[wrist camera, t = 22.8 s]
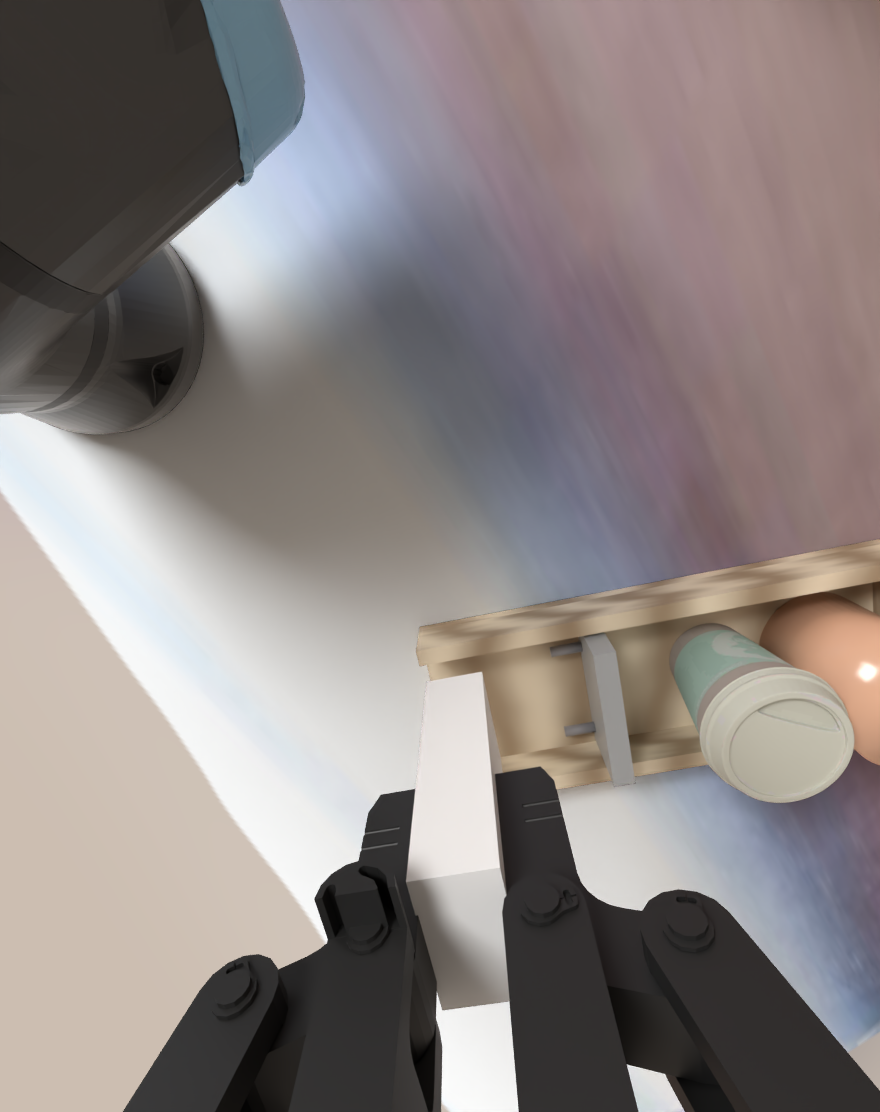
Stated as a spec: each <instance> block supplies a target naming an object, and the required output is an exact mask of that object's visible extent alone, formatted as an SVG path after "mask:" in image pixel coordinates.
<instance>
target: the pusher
mask: <svg viewBox="0 0 880 1112" xmlns="http://www.w3.org/2000/svg"><path fill="white" fill-rule="evenodd" d="M578 638H579V641H578V642H573V643H568V644H562V645H557V646H551V647H549V648H550V653H551V657H556V656H562V655H567V654H573V653H578V652H581V656H582V662H583V668H584V674H585V680H586V686H587V693H588V699H589V705H590V711H591V717H592V722H587V723H581V724H575V725H570V726H564V731H565V735H566V737H568V736H574V735H580V734H586V733H592V732H594V735H595V740H596V742H597V745H598V747H599V750H600V752H601V755H602V757H603V760H604V762H605V765H606V767H607V770H608V772H609V775H610V778H611V780H612V783H613V785H614V787H616V786H622V785H629V784H635V777H634V771H633V764H632V757H631V750H630V744H629V737H628V730H627V723H626V717H625V710H624V703H623V696H622V689H621V683H620V676H619V669H618V662H617V656H616V651H615V649H614V648H613V646H612V644H611V643H610V641H609V639H608V638H607V636H606V634H605V633H604V632H602V633H597V634H592V635H586V636H581V637H578Z"/></svg>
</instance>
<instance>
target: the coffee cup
mask: <svg viewBox="0 0 880 1112" xmlns="http://www.w3.org/2000/svg"><path fill="white" fill-rule="evenodd" d="M669 665H670V669H671V672H672V675H673V677H674V679H675V681H676V684H677V686H678V688H679V691H680V693H681V695H682V697H683V700H684V702H685V704H686V706H687V709H688V711H689V713H690V715H691V718H692V720H693V722H694V724H695V727H696V729H697V731H698V733H699V736H700V746H701V750H702V753H703V756H704V758H705V760H706V762H707V763H708V765H709V766H710V767H711V769H712V770H713V771H714V772H715V773H716V774H717V775H718V776H719V777H720V778H721V779H722V780H724V781H725V782H726V783H728V784H729V785H730V786H732V787H734V788H736V789H738V790H740V791H741V792H743V793H744V794H746V795H748V796H750V797H752V798H755V799H757V800H761V801H765V802H772V803H787V802H794V801H799V800H803V799H806V798H809V797H811V796H813V795H816V794H818V793H819V792H821V791H823V790H824V789H826V788H827V787H829V786H830V785H831V784H832V783H834V782H835V781H836V780H837V779H838V778H839V777H840V775H841V774H842V773H843V772H844V770H845V769H846V767H847V765H848V763H849V761H850V759H851V756H852V754H853V749H854V731H853V727H852V724H851V722H850V720H849V717H848V713H847V710H846V708H845V705H844V704H843V702H842V700H841V699H840V698H839V696H838V695H837V693H836V692H835V691H834V689H833V688H832V687H831V686H830V685H829V684H828V683H827V682H826V681H824V680H823V679H822V678H820V677H818V676H817V675H815V674H813V673H810V672H808V671H805V670H801V669H797V668H795V667H793V666H792V665H790V664H788V663H787V662H785V661H784V660H782V659H780V658H779V657H777V656H776V655H774V654H772V653H771V652H769V651H767V650H766V649H764V648H763V647H761V646H759V645H758V644H756V643H755V642H753V641H751V640H750V639H748V638H747V637H745V636H743V635H742V634H740V633H738V632H737V631H735V630H733V629H732V628H730V627H728V626H725V625H722V624H717V623H706V624H701V625H697V626H695V627H692V628H690V629H689V630H687V631H686V632H684V633H683V634H682V635H681V636H680V637H679V638H678V639H677V640H676V642H675V643H674V645H673V647H672V649H671V652H670V657H669Z"/></svg>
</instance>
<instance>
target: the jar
mask: <svg viewBox="0 0 880 1112" xmlns="http://www.w3.org/2000/svg"><path fill="white" fill-rule="evenodd" d="M759 646H761V647H763V648H764V649H766V650H767V651H769V652H771V653H772V654H774V655H776V656H777V657H779V658H780V659H782V660H784V661H785V662H787V663H788V664H790V665H792V666H793V667H795V668H797V669H801V670H805V671H808V672H810V673H813V674H815V675H817V676H818V677H820V678H822V679H823V680H824V681H826V682H827V683H828V684H829V685H830V686H831V687H832V688H833V689H834V691H835V692H836V693H837V695H838V696H839V698H840V699H841V700H842V702H843V704H844V705H845V708H846V710H847V713H848V717H849V720H850V722H851V724H852V727H853V731H854V750H856V751H857V752H858V753H859V754H860V755H861V756H863V757H864V758H865V759H867V760H869V761H871V762H872V763H875V764H877V765H880V615H878V614H876V613H874V612H872V611H870V610H868V609H866V608H864V607H862V606H860V605H858V604H856V603H854V602H852V601H850V600H848V599H846V598H845V597H842V596H840V595H837V594H834V593H829V592H818V593H813V594H807V595H802V596H798V597H796V598H794V599H792V600H790V601H788V602H787V603H785V604H784V605H782V606H781V607H780V608H779V609H777V610H776V611H775V613H774V614H773V615H772V616H771V617H770V618H769V620H768V621H767V623H766V625H765V626H764V629H763V631H762V633H761V637H760V641H759Z"/></svg>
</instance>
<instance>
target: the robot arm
mask: <svg viewBox="0 0 880 1112" xmlns="http://www.w3.org/2000/svg"><path fill="white" fill-rule="evenodd" d="M304 83H305V81H304V74H303V69H302V65H301V61H300V57H299V53H298V50H297V46H296V43H295V40H294V37H293V34H292V32H291V29H290V26H289V23H288V20H287V18H286V15H285V12H284V9H283V7H282V4H281V2H280V0H0V414H10V413H21V414H24V415H26V416H29V417H31V418H34V419H37V420H39V421H42V422H45V423H47V424H49V425H52V426H54V427H57V428H60V429H63V430H67V431H72V432H77V433H84V434H110V433H118V432H126V431H131V430H136V429H139V428H142V427H145V426H147V425H150V424H152V423H154V422H156V421H157V420H159V419H161V418H162V417H164V416H165V415H166V414H168V413H169V412H170V411H171V410H172V409H173V408H174V407H175V406H176V405H177V404H178V403H179V402H180V401H181V400H182V399H183V397H184V396H185V394H186V393H187V391H188V390H189V388H190V386H191V384H192V382H193V380H194V378H195V376H196V373H197V371H198V367H199V364H200V360H201V355H202V349H203V319H202V312H201V307H200V303H199V299H198V295H197V292H196V289H195V287H194V284H193V282H192V279H191V277H190V275H189V273H188V271H187V269H186V267H185V266H184V264H183V262H182V261H181V259H180V258H179V256H178V255H177V253H176V252H175V251H174V249H173V248H172V247H171V246H170V244H169V242H170V241H171V240H173V239H174V238H175V237H176V236H177V235H178V234H179V233H181V232H182V231H183V230H184V229H185V228H186V227H188V226H189V225H190V224H191V223H192V222H193V221H194V220H196V219H197V218H198V217H199V216H200V215H201V214H202V213H204V212H205V211H206V210H207V209H208V208H209V207H210V206H212V205H213V204H214V203H215V202H216V201H217V200H219V199H220V198H221V197H222V196H223V195H224V194H225V193H227V192H228V191H229V190H230V189H231V188H232V187H233V186H235V185H236V184H238V185H239V186H244V185H246V184H247V183H248V182H249V181H250V179H251V178H252V175H253V172H254V168H255V167H257V166H258V165H259V164H260V163H261V162H262V161H263V160H264V159H265V158H266V157H267V156H268V155H269V154H270V153H271V152H272V151H273V150H274V149H275V148H276V147H277V146H278V145H279V144H280V143H281V142H283V141H284V140H285V139H286V138H287V137H288V136H289V135H290V134H291V133H292V132H293V130H294V129H295V128H296V126H297V124H298V123H299V121H300V119H301V116H302V111H303V106H304V100H305V89H304ZM361 848H362V851H361V852H360V857H359V861H358V862H354V863H351V864H348V865H345V866H344V867H342V868H341V869H339V870H337V871H336V872H334V873H333V874H331V875H330V876H329V878H328V879H327V880H326V881H325V882H324V883H323V884H322V885H321V886H320V889H319V891H318V893H317V895H316V897H315V902H316V905H317V908H318V911H319V914H320V917H321V920H322V923H323V926H324V929H325V932H326V935H327V938H328V942H327V944H326V945H324V946H323V947H322V948H321V949H319V950H318V951H316V952H314V953H312V954H311V955H309V956H307V957H305V958H303V959H301V960H298V961H297V962H294V963H292V964H290V965H288V966H285V967H283V968H281V969H279V970H278V968H277V967H276V965H275V964H274V963H273V961H272V960H271V958H268V957H265V956H262V955H259V954H258V955H248V956H243V957H241V958H238V959H236V960H234V961H232V962H229V963H227V964H226V965H225V966H224V967H222V968H221V969H220V970H218V971H217V972H216V973H215V974H213V975H212V976H211V978H210V979H209V980H208V981H207V982H206V984H205V985H204V986H203V987H202V989H201V990H200V991H199V993H198V994H197V996H196V998H195V999H194V1001H193V1002H192V1004H191V1005H190V1007H189V1008H188V1010H187V1012H186V1013H185V1015H184V1016H183V1018H182V1020H181V1021H180V1023H179V1024H178V1026H177V1027H176V1029H175V1031H174V1032H173V1034H172V1035H171V1037H170V1038H169V1040H168V1042H167V1043H166V1045H165V1046H164V1048H163V1049H162V1051H161V1052H160V1054H159V1056H158V1057H157V1059H156V1060H155V1062H154V1063H153V1065H152V1067H151V1068H150V1070H149V1071H148V1073H147V1075H146V1076H145V1078H144V1079H143V1081H142V1082H141V1084H140V1086H139V1087H138V1089H137V1090H136V1092H135V1094H134V1095H133V1097H132V1098H131V1100H130V1101H129V1103H128V1104H127V1106H126V1108H125V1109H124V1111H123V1112H441V1085H442V1043H441V1037H440V1031H439V1028H438V1024H437V1021H436V996H437V993H438V997H439V1000H440V1004H441V1007H442V1010H449V1009H456V1008H463V1007H471V1006H478V1005H486V1004H493V1003H500V1002H508V1001H510V1012H511V1024H512V1036H513V1048H514V1060H515V1071H516V1083H517V1095H518V1107H519V1112H638V1108H637V1104H636V1100H635V1096H634V1092H633V1088H632V1084H631V1080H630V1076H629V1072H628V1068H627V1064H628V1065H632V1066H636V1067H640V1068H644V1069H648V1070H652V1071H656V1072H660V1073H664V1074H666V1077H667V1079H668V1081H669V1083H670V1085H671V1087H672V1088H673V1090H674V1092H675V1094H676V1096H677V1098H678V1100H679V1101H680V1103H681V1105H682V1107H683V1109H684V1111H685V1112H880V1091H879V1089H878V1088H877V1087H876V1086H875V1085H874V1084H873V1082H872V1081H871V1080H870V1079H869V1078H868V1076H867V1075H866V1074H865V1073H864V1072H863V1070H862V1069H861V1068H860V1067H859V1066H858V1064H857V1063H856V1062H855V1061H854V1060H853V1058H851V1056H850V1055H849V1054H848V1053H847V1051H846V1050H845V1049H844V1048H843V1047H842V1045H841V1044H840V1043H839V1042H838V1041H837V1040H836V1038H835V1037H834V1036H833V1035H832V1034H831V1032H830V1031H829V1030H828V1029H827V1028H826V1026H825V1025H824V1024H823V1023H822V1022H821V1021H820V1019H819V1018H818V1017H817V1016H816V1015H815V1013H814V1012H813V1011H812V1010H811V1009H810V1007H809V1006H808V1005H807V1004H806V1003H805V1002H804V1000H803V999H802V998H801V997H800V996H799V994H798V993H797V992H796V991H795V990H794V988H793V987H792V986H791V985H790V984H789V983H788V981H787V980H786V979H785V978H784V977H783V975H782V974H781V973H780V972H779V971H778V970H777V968H776V967H775V966H774V965H773V964H772V962H771V961H770V960H769V959H768V958H767V956H766V955H765V954H764V953H763V952H762V951H761V949H760V948H759V947H758V946H757V945H756V943H755V942H754V941H753V940H752V939H751V937H750V936H749V935H748V934H747V933H746V932H745V930H744V929H743V928H742V927H741V926H740V924H739V923H738V922H737V921H736V920H735V919H734V917H733V916H732V915H731V914H730V913H729V912H728V911H727V910H726V909H725V908H724V907H723V906H721V905H720V904H719V903H718V902H717V901H716V900H714V899H712V898H710V897H707V896H705V895H703V894H701V893H698V892H694V891H686V890H673V891H668V892H663V893H661V894H659V895H657V896H656V897H654V898H652V899H651V900H649V901H648V903H647V904H646V906H645V908H644V909H643V911H638V910H632V909H625V908H620V907H616V906H612V905H609V904H607V903H605V902H603V901H601V900H598V899H597V898H596V897H594V896H593V895H592V894H591V893H589V892H588V891H587V890H586V888H585V887H584V886H583V884H582V883H581V881H580V879H579V876H578V874H577V870H576V866H575V862H574V858H573V854H572V850H571V846H570V842H569V838H568V834H567V830H566V826H565V822H564V818H563V814H562V810H561V806H560V802H559V798H558V794H557V790H556V786H555V782H554V780H553V779H552V778H551V777H550V776H549V775H548V773H547V772H546V771H545V770H544V769H543V768H542V767H541V766H539V767H534V768H528V769H522V770H516V771H510V772H504V773H503V771H502V763H501V757H500V752H499V748H498V743H497V738H496V734H495V729H494V725H493V720H492V715H491V711H490V706H489V701H488V697H487V692H486V688H485V683H484V678H483V674H482V672H477V673H472V674H466V675H461V676H455V677H450V678H444V679H439V680H433V681H428V682H426V690H425V699H424V709H423V719H422V729H421V739H420V749H419V759H418V768H417V778H416V788H415V789H413V790H407V791H401V792H395V793H389V794H383V795H381V796H380V797H379V799H378V800H377V801H376V803H375V804H374V806H373V807H372V809H371V810H370V811H369V813H368V818H367V823H366V828H365V835H364V837H363V842H362V847H361Z"/></svg>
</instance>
